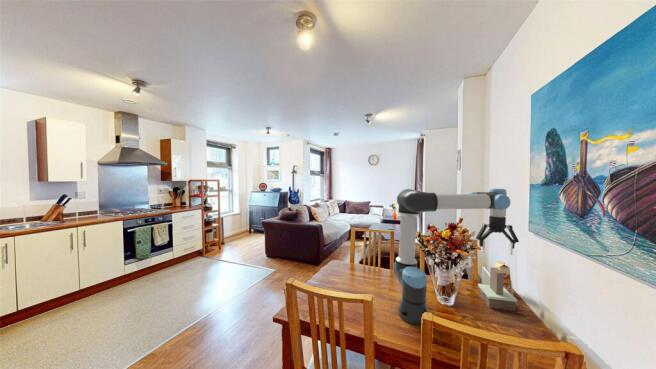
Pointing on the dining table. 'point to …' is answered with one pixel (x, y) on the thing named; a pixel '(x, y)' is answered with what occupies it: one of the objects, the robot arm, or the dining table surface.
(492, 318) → the dining table surface
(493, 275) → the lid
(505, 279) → the milk carton
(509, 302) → the walnut box
